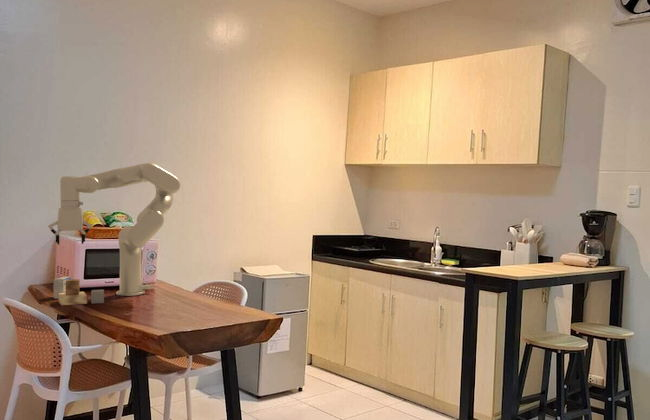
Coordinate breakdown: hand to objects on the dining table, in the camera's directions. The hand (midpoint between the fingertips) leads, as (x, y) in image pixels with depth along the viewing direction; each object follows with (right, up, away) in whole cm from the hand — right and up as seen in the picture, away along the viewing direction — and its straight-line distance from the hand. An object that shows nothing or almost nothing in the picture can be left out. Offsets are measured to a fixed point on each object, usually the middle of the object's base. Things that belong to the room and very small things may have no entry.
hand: (70, 243), depth 254 cm
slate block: (+14, -25, -5) cm, 29 cm away
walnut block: (+4, -21, -7) cm, 22 cm away
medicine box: (-6, -24, +6) cm, 26 cm away
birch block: (+4, -25, -6) cm, 26 cm away
